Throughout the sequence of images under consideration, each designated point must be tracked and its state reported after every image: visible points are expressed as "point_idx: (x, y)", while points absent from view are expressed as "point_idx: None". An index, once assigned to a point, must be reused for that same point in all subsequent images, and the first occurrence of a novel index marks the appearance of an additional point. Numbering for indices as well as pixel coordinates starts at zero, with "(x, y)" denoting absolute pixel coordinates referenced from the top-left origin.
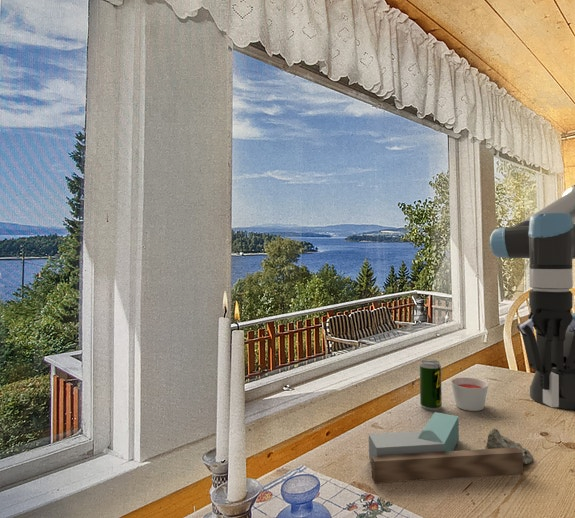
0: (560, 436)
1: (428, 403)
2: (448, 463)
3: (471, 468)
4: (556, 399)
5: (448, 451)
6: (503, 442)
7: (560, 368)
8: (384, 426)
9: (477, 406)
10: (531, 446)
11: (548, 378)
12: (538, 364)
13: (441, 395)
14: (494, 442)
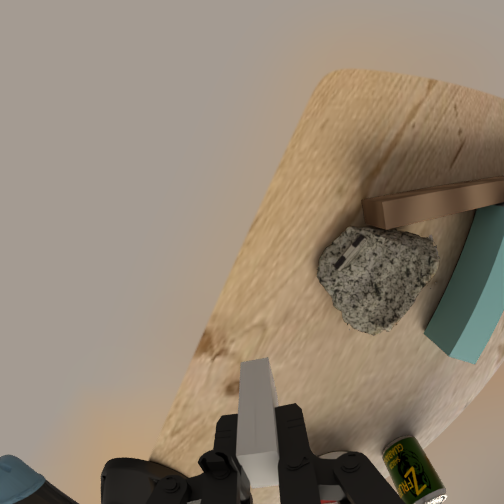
0: (204, 378)
1: (414, 441)
2: (493, 180)
3: (457, 184)
4: (249, 377)
5: (498, 202)
6: (388, 277)
7: (221, 484)
8: (494, 353)
9: (329, 458)
10: (289, 329)
11: (283, 442)
12: (365, 481)
13: (392, 463)
14: (424, 247)
